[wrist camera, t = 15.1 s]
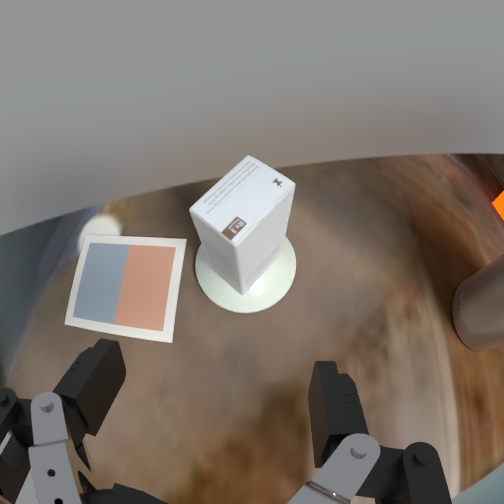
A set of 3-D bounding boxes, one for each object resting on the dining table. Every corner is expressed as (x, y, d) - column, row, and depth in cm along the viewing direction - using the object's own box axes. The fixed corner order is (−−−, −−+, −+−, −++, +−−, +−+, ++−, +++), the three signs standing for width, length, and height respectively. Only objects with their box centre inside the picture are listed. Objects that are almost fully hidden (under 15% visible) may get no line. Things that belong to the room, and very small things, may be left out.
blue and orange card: (186, 239, 32) (186, 239, 32) (172, 342, 27) (171, 342, 27) (86, 235, 32) (85, 234, 32) (65, 324, 28) (64, 324, 28)
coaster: (295, 224, 32) (296, 220, 32) (294, 316, 28) (295, 314, 28) (203, 220, 33) (202, 216, 32) (190, 309, 29) (189, 307, 28)
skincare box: (250, 229, 31) (247, 147, 20) (284, 255, 30) (299, 180, 19) (209, 272, 29) (182, 204, 18) (244, 301, 28) (236, 245, 17)
